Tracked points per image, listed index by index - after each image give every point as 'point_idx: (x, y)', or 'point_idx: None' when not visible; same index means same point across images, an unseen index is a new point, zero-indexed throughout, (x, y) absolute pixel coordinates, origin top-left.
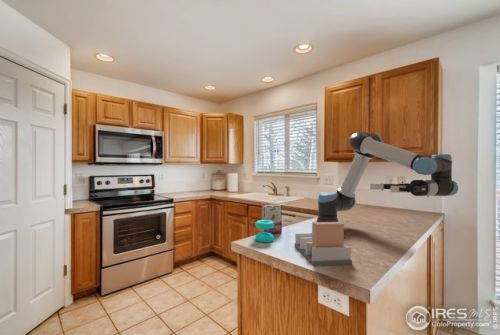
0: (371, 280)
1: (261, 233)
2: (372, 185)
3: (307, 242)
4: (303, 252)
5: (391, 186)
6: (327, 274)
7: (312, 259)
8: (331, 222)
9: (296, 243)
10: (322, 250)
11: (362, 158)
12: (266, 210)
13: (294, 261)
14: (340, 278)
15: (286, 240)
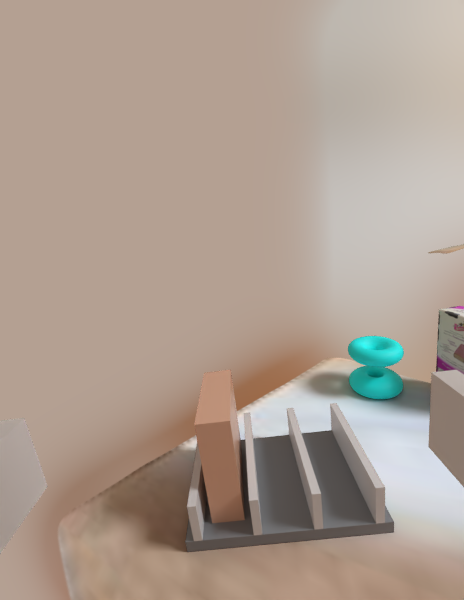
0: (77, 554)
1: (375, 369)
2: (443, 405)
3: (247, 415)
4: (269, 438)
5: (10, 426)
6: (153, 465)
7: None
8: (222, 401)
9: (332, 429)
10: None
11: None
12: (443, 323)
13: None
14: (125, 484)
15: (397, 425)
